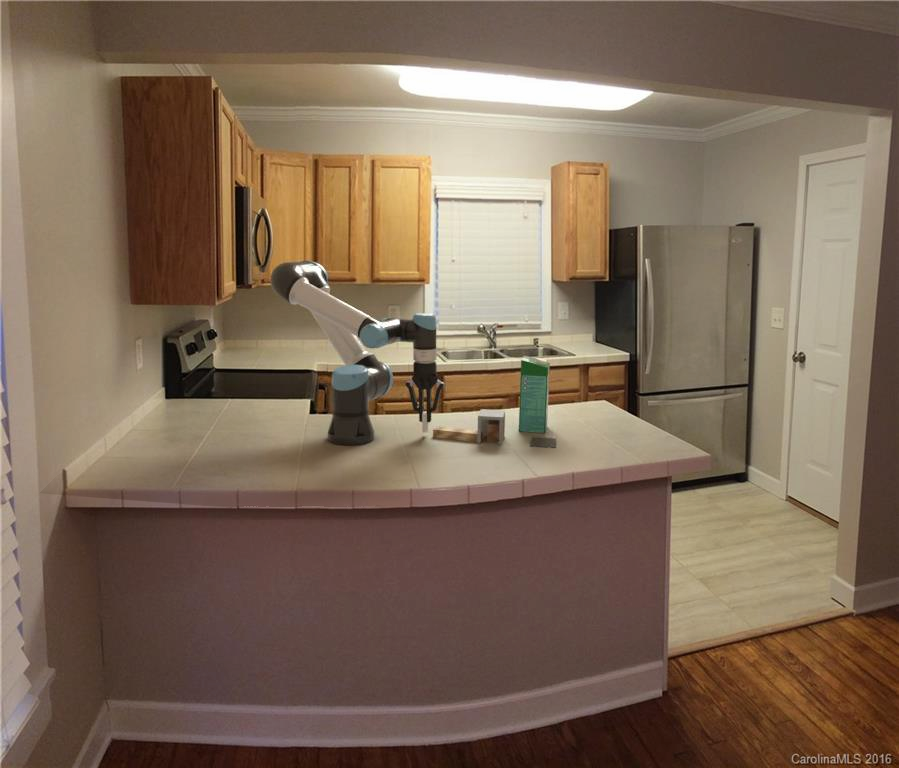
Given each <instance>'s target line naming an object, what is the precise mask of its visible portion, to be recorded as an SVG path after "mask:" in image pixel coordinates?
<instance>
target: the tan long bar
mask: <svg viewBox="0 0 899 768" xmlns="http://www.w3.org/2000/svg"><path fill="white" fill-rule="evenodd" d="M477 435H478V429H477V430H476V429H475V430H474V429H465V428H458V427H457V428H454V427H446V426H435V427H434V428H433V429H432V437H433V438H438V439H448V440H457V441H467V442H473V443H474V442H475V443H477ZM483 439H484V436H483V431H481V441H483Z"/></svg>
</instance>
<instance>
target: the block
mask: <svg viewBox="0 0 899 768" xmlns="http://www.w3.org/2000/svg"><path fill="white" fill-rule="evenodd" d="M499 427H500V421H495V420H489V422H488V431H487V436H486V438H487V439H486V442H487V443H498V442H499ZM504 439H505V433H504V421H503V440H502V444H504Z"/></svg>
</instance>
